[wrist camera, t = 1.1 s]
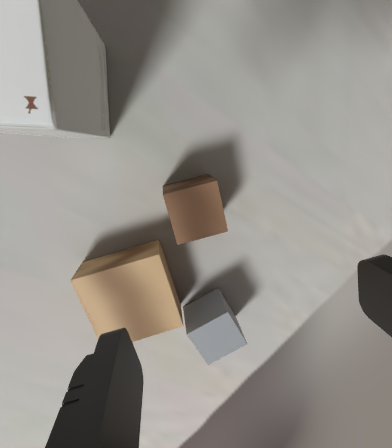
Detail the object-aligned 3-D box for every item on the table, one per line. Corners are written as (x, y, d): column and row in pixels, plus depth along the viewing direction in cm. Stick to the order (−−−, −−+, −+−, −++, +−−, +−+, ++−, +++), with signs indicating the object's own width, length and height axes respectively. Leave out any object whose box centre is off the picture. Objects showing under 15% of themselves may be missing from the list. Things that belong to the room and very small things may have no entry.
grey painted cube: (217, 287, 29) (227, 311, 25) (235, 315, 31) (247, 343, 26) (183, 306, 29) (186, 334, 25) (201, 334, 31) (208, 364, 27)
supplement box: (107, 43, 21) (36, -87, 9) (111, 139, 23) (58, 135, 11) (8, 33, 20) (-216, -128, 8) (22, 134, 22) (-141, 124, 10)
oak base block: (159, 238, 27) (159, 254, 23) (180, 302, 29) (183, 325, 26) (83, 260, 27) (70, 280, 23) (111, 323, 29) (103, 350, 25)
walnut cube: (207, 174, 25) (217, 180, 21) (217, 217, 27) (227, 231, 23) (162, 185, 25) (163, 194, 21) (174, 228, 27) (177, 245, 22)
